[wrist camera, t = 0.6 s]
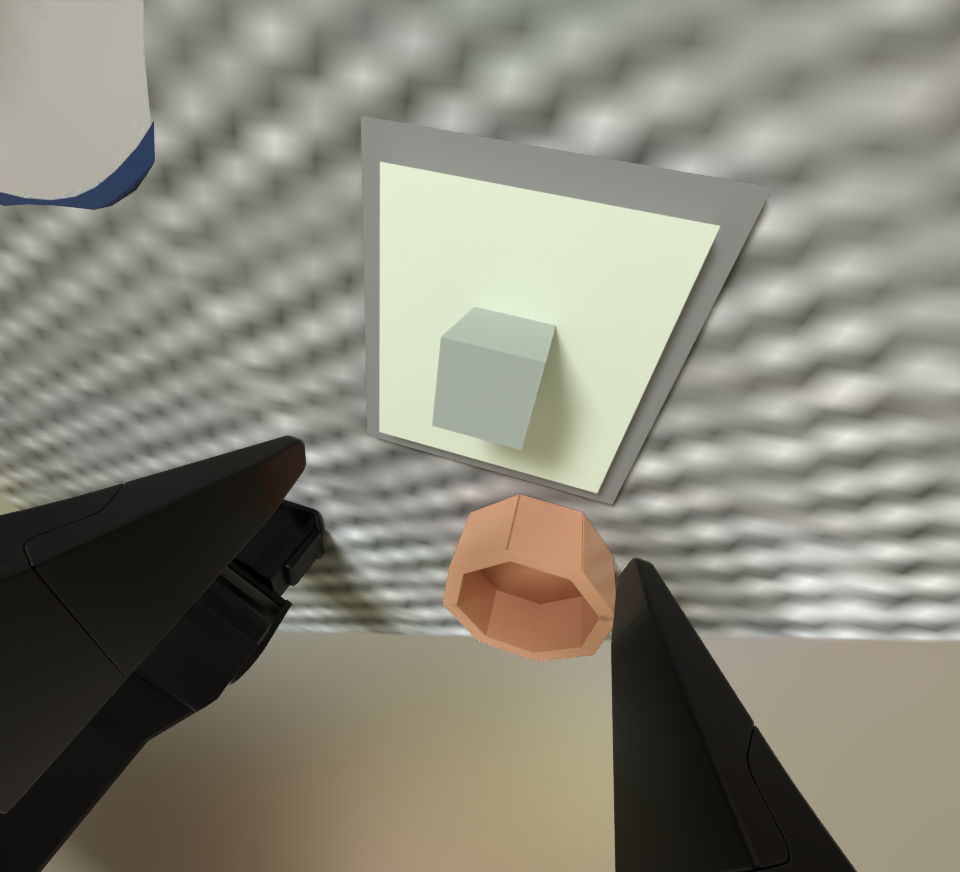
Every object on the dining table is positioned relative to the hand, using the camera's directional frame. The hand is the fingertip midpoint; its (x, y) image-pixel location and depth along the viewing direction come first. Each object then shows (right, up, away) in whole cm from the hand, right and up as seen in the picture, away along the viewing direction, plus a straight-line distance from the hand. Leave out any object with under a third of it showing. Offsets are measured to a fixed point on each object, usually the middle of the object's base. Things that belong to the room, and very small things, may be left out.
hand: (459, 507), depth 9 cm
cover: (+2, +7, +10) cm, 12 cm away
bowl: (+5, -7, +19) cm, 21 cm away
